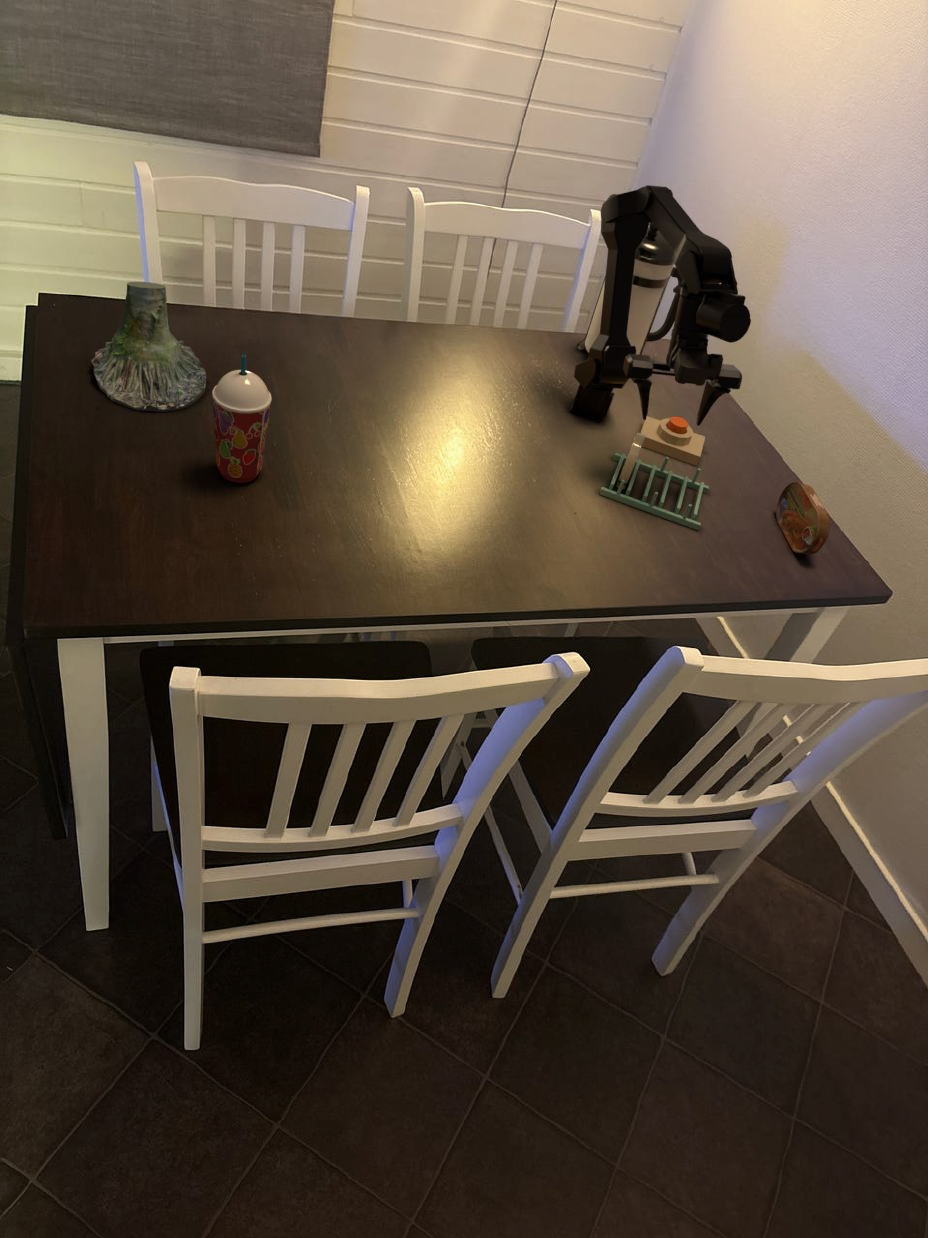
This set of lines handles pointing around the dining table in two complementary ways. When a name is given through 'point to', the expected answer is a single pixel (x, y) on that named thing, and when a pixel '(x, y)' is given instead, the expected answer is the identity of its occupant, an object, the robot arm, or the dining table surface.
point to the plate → (631, 459)
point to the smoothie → (240, 423)
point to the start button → (677, 425)
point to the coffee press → (644, 293)
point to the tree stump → (148, 357)
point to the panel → (672, 441)
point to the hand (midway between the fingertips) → (671, 422)
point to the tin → (802, 518)
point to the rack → (649, 507)
